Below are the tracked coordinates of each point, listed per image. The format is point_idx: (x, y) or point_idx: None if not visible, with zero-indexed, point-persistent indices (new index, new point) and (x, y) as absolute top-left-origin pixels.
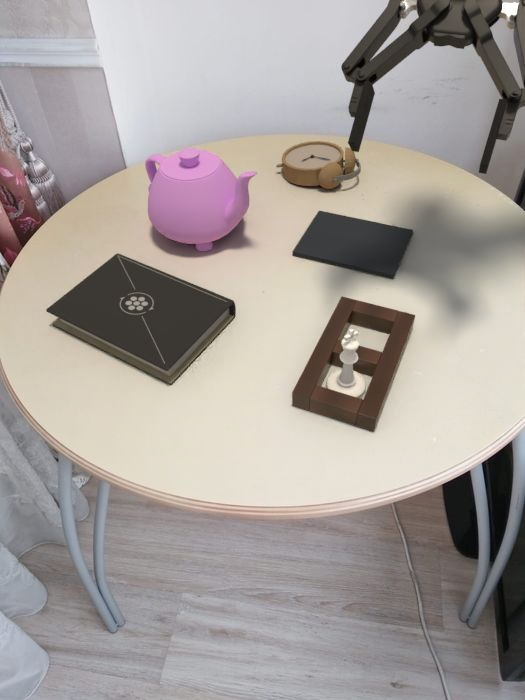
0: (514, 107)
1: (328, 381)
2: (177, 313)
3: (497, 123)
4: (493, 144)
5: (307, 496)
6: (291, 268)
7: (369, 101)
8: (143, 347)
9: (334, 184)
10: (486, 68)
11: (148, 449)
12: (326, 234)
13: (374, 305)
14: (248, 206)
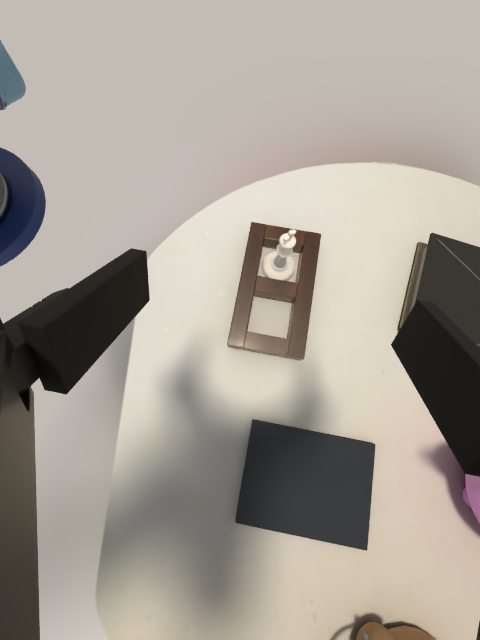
0: (8, 328)
1: (293, 263)
2: (457, 298)
3: (81, 287)
4: (107, 264)
5: (287, 177)
6: (366, 418)
7: (463, 408)
8: (465, 252)
9: (363, 630)
10: (37, 558)
11: (405, 188)
12: (343, 490)
13: (268, 351)
14: (475, 478)
